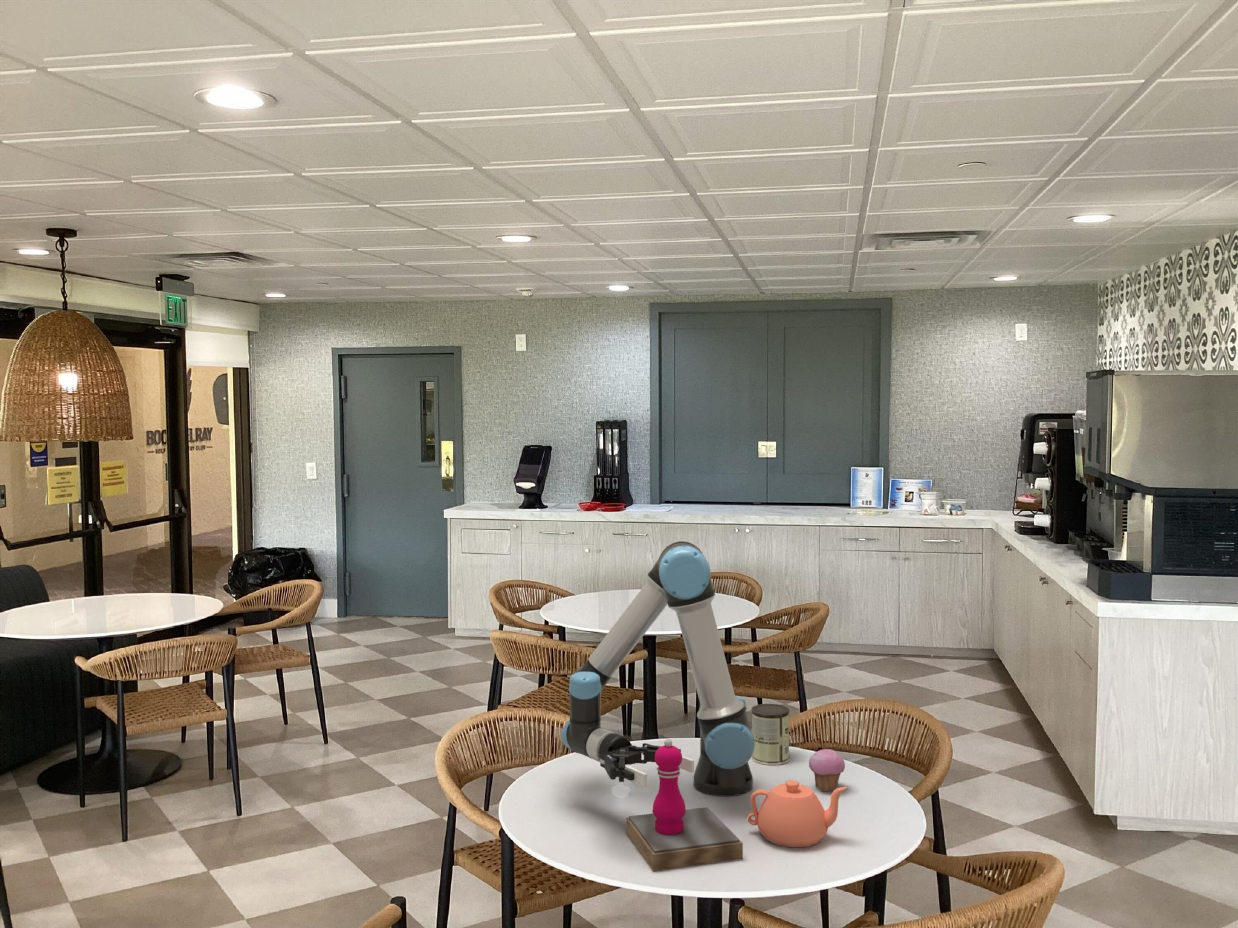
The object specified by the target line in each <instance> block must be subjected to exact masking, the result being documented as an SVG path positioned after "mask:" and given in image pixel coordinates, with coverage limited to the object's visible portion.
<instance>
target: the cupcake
mask: <svg viewBox="0 0 1238 928" xmlns="http://www.w3.org/2000/svg"><path fill="white" fill-rule="evenodd" d="M845 763H846V762H845V760H844V758H843V757H842V756H841V755H840V754H838V752H837V751H835V750H833V749H829V748H828V749H827V748H825V749H819V750H818V751H816V752H814V753H813V755H811V756H810V757H809V759H808V767H809V769H810V770H811V771H812V772H813V775H814V783H815V787H816V788H817V789H818V790H820V791H821V792H827V791H831V792H833V791H834V790H835V789H837V787H838V784H839V781H840V777H841V774H842V773H844V771H845V767H846V765H845Z"/></svg>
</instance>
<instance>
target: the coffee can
mask: <svg viewBox="0 0 1238 928" xmlns="http://www.w3.org/2000/svg"><path fill="white" fill-rule="evenodd" d="M750 710H751V711H750V712H751V733H752V734H753V736H754V740H755V746H754V752H753V755H752V757H751V760H752V761H753V762H755V763H757V764H761V765H764V766H780V765H785V764H787V763H788V762H789V761H790V725H789V724H790V720H789V719H790V718H789V717H790V714H789V713H790V708H789V707H787V706H785V705H783V704H777V703H776V704H775V703H761V704H757V705H756V704H755V705H754V706H752V707H751V709H750Z"/></svg>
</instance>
